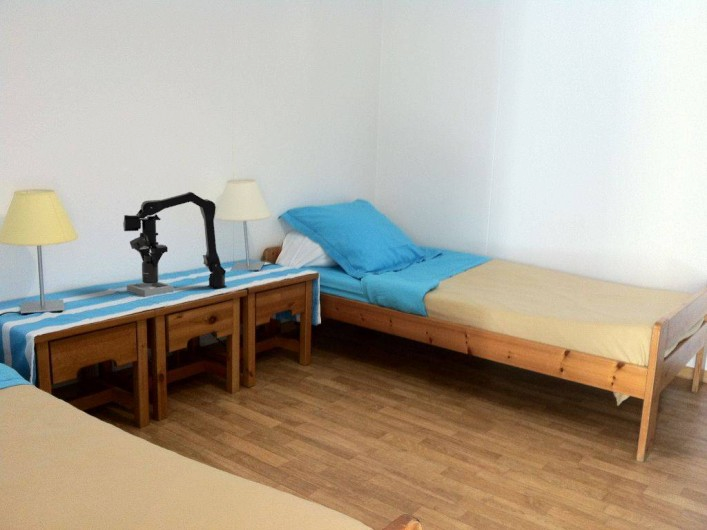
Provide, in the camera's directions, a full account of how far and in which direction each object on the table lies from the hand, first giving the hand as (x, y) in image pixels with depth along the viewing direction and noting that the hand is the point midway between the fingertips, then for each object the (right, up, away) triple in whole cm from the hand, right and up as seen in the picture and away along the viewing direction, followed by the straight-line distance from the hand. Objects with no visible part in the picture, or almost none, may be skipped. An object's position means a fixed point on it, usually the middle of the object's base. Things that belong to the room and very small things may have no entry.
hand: (150, 266), depth 297 cm
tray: (-1, -11, +2) cm, 11 cm away
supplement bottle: (0, -7, +1) cm, 7 cm away
